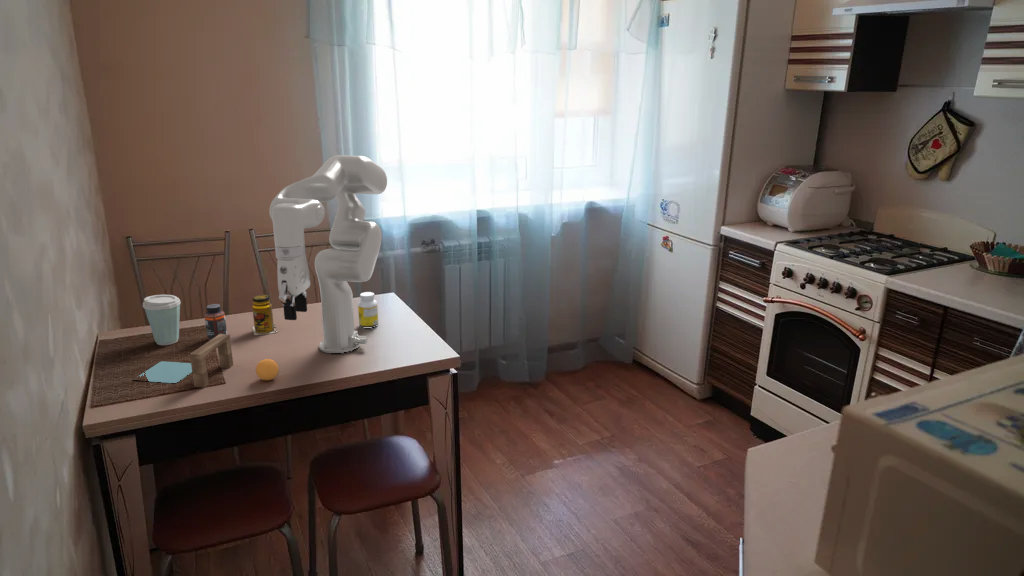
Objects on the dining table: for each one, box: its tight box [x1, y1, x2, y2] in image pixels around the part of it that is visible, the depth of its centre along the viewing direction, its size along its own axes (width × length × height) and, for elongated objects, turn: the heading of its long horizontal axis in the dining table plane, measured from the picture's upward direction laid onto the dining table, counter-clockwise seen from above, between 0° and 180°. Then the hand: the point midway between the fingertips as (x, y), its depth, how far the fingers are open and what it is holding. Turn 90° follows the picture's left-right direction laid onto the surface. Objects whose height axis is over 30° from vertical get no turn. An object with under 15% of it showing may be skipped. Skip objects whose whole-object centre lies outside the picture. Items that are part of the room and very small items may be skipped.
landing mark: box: [138, 360, 192, 384], centre depth 189 cm, size 13×13×1 cm
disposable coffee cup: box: [142, 294, 182, 346], centre depth 208 cm, size 11×11×15 cm
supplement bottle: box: [204, 303, 228, 342], centre depth 212 cm, size 6×6×11 cm
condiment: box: [251, 294, 278, 336], centre depth 220 cm, size 7×8×12 cm
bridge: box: [189, 333, 234, 389], centre depth 186 cm, size 3×15×10 cm, turn 173°
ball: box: [255, 358, 279, 381], centre depth 185 cm, size 6×6×6 cm
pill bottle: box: [357, 291, 379, 328], centre depth 225 cm, size 6×6×12 cm
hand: (296, 314), depth 179 cm, fingers open, 5 cm apart
